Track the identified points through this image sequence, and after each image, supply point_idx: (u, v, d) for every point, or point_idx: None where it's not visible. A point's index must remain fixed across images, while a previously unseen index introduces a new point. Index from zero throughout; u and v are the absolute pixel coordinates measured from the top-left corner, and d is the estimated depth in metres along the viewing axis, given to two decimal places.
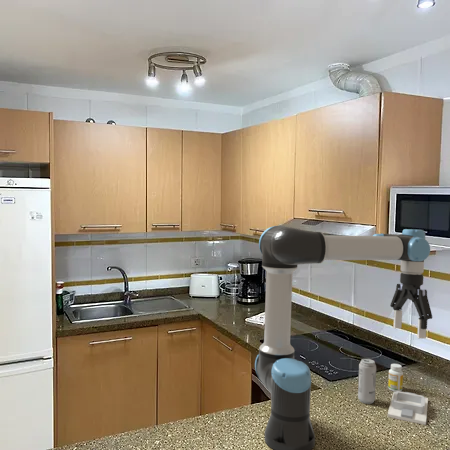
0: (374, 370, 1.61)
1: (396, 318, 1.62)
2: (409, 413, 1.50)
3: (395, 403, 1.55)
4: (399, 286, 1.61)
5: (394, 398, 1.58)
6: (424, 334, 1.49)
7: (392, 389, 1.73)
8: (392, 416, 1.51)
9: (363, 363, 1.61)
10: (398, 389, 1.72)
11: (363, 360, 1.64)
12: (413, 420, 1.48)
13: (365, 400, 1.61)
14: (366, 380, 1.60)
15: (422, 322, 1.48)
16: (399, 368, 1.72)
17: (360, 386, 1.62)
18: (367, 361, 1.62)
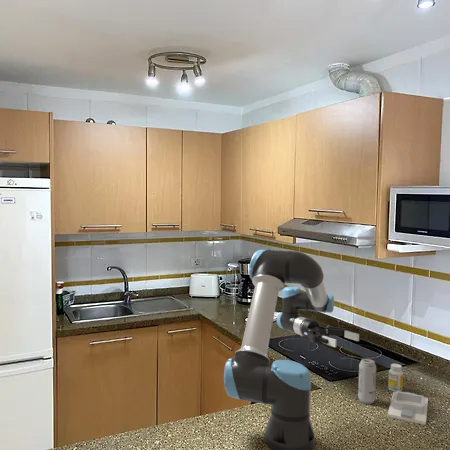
0: (374, 370, 1.61)
1: None
2: (409, 413, 1.50)
3: (395, 403, 1.55)
4: None
5: (394, 398, 1.58)
6: None
7: (392, 389, 1.73)
8: (392, 416, 1.51)
9: (363, 363, 1.61)
10: (398, 389, 1.72)
11: (363, 360, 1.64)
12: (413, 420, 1.48)
13: (365, 400, 1.61)
14: (366, 380, 1.60)
15: None
16: (399, 368, 1.72)
17: (360, 386, 1.62)
18: (367, 361, 1.62)
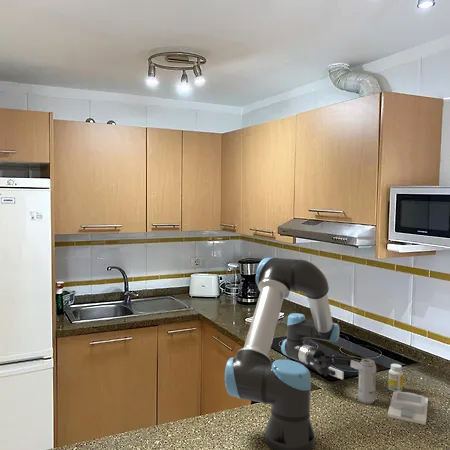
0: (374, 370, 1.61)
1: None
2: (409, 413, 1.50)
3: (395, 403, 1.55)
4: None
5: (394, 398, 1.58)
6: None
7: (392, 389, 1.73)
8: (392, 416, 1.51)
9: (363, 363, 1.61)
10: (398, 389, 1.72)
11: (363, 360, 1.64)
12: (413, 420, 1.48)
13: (365, 400, 1.61)
14: (366, 380, 1.60)
15: None
16: (399, 368, 1.72)
17: (360, 386, 1.62)
18: (367, 361, 1.62)
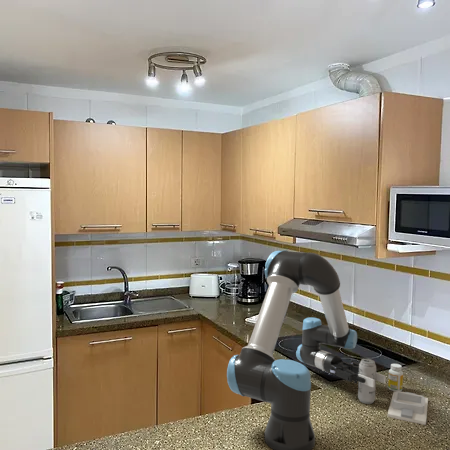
0: (374, 370, 1.61)
1: None
2: (409, 413, 1.50)
3: (395, 403, 1.55)
4: None
5: (394, 398, 1.58)
6: None
7: (392, 389, 1.73)
8: (392, 416, 1.51)
9: (363, 363, 1.61)
10: (398, 389, 1.72)
11: (363, 360, 1.64)
12: (413, 420, 1.48)
13: (365, 400, 1.61)
14: None
15: None
16: (399, 368, 1.72)
17: (360, 386, 1.62)
18: (367, 361, 1.62)
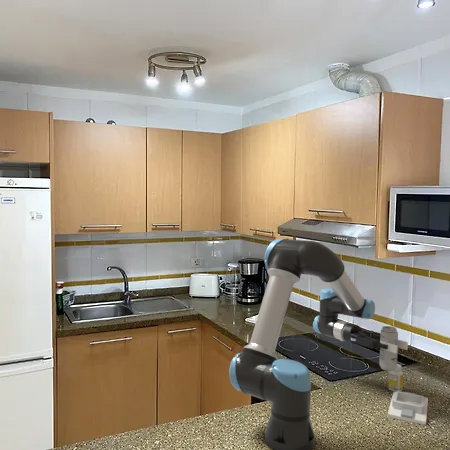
0: (396, 336, 1.58)
1: None
2: (409, 413, 1.50)
3: (395, 403, 1.55)
4: None
5: (394, 398, 1.58)
6: None
7: (392, 389, 1.73)
8: (392, 416, 1.51)
9: (385, 330, 1.59)
10: (398, 389, 1.72)
11: (385, 327, 1.61)
12: (413, 420, 1.48)
13: (387, 367, 1.59)
14: None
15: None
16: (399, 368, 1.72)
17: (382, 353, 1.60)
18: (388, 328, 1.60)
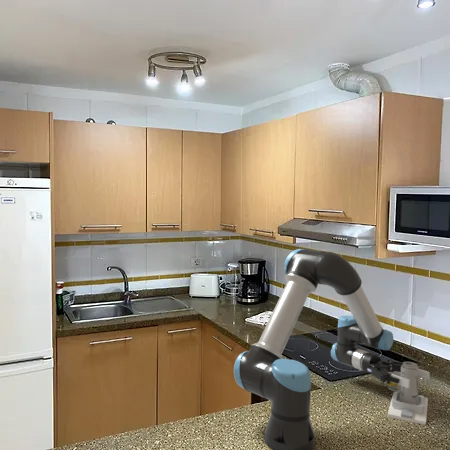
0: (417, 373, 1.55)
1: None
2: (409, 413, 1.50)
3: (395, 403, 1.55)
4: None
5: (394, 398, 1.58)
6: None
7: (392, 389, 1.73)
8: (392, 416, 1.51)
9: (406, 366, 1.56)
10: (398, 389, 1.72)
11: (405, 363, 1.58)
12: (413, 420, 1.48)
13: None
14: None
15: None
16: None
17: (402, 390, 1.57)
18: (409, 364, 1.57)
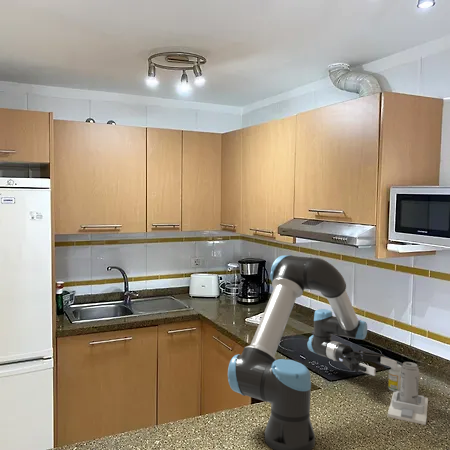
0: (417, 374, 1.55)
1: None
2: (409, 413, 1.50)
3: (395, 403, 1.55)
4: None
5: (394, 398, 1.58)
6: None
7: (392, 389, 1.73)
8: (392, 416, 1.51)
9: (406, 366, 1.56)
10: (398, 389, 1.72)
11: (405, 363, 1.58)
12: (413, 420, 1.48)
13: None
14: (409, 384, 1.55)
15: None
16: (399, 368, 1.72)
17: (402, 390, 1.57)
18: (409, 365, 1.57)
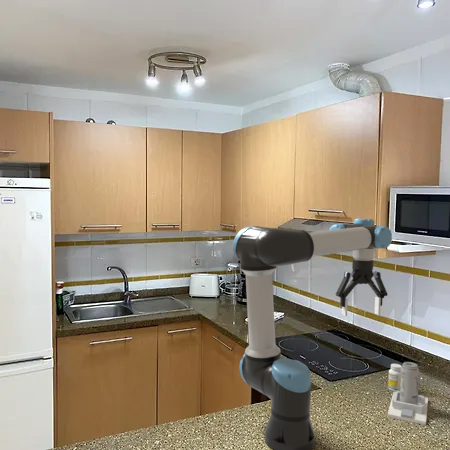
0: (417, 374, 1.55)
1: None
2: (409, 413, 1.50)
3: (395, 403, 1.55)
4: None
5: (394, 398, 1.58)
6: None
7: (392, 389, 1.73)
8: (392, 416, 1.51)
9: (406, 366, 1.56)
10: (398, 389, 1.72)
11: (405, 363, 1.58)
12: (413, 420, 1.48)
13: None
14: (409, 384, 1.55)
15: (381, 299, 1.69)
16: (399, 368, 1.72)
17: (402, 390, 1.57)
18: (409, 365, 1.57)
